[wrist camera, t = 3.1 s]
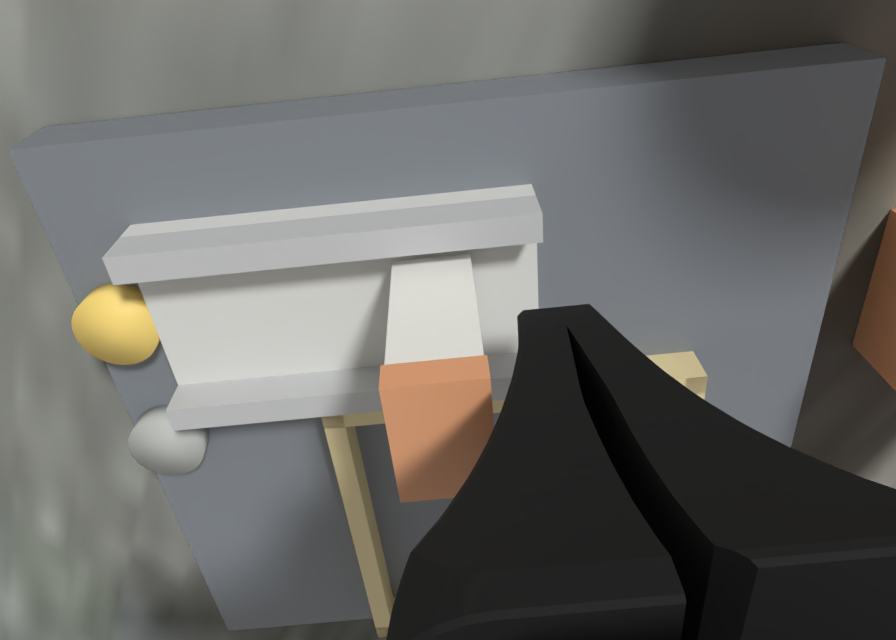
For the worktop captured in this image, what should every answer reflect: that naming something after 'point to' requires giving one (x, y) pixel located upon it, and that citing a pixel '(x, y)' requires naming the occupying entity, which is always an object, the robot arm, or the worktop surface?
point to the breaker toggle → (434, 377)
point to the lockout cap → (881, 310)
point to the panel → (426, 236)
